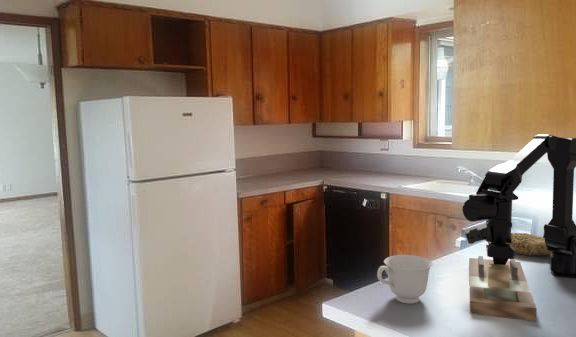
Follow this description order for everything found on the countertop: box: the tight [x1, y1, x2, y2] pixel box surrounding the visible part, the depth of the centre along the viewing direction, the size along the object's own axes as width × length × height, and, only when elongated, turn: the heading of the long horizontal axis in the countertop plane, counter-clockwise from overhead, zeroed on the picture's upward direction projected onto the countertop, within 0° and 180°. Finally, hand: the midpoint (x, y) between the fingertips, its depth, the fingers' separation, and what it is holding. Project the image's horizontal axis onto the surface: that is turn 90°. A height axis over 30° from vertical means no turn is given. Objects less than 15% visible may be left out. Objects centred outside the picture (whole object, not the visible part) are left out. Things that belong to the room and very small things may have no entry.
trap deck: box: [468, 255, 537, 322], centre depth 125 cm, size 14×35×6 cm, turn 159°
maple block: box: [487, 263, 510, 288], centre depth 122 cm, size 5×5×4 cm
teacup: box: [376, 254, 434, 305], centre depth 120 cm, size 12×15×10 cm
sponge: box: [487, 232, 552, 257], centre depth 157 cm, size 13×8×20 cm
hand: (497, 274), depth 126 cm, fingers closed
